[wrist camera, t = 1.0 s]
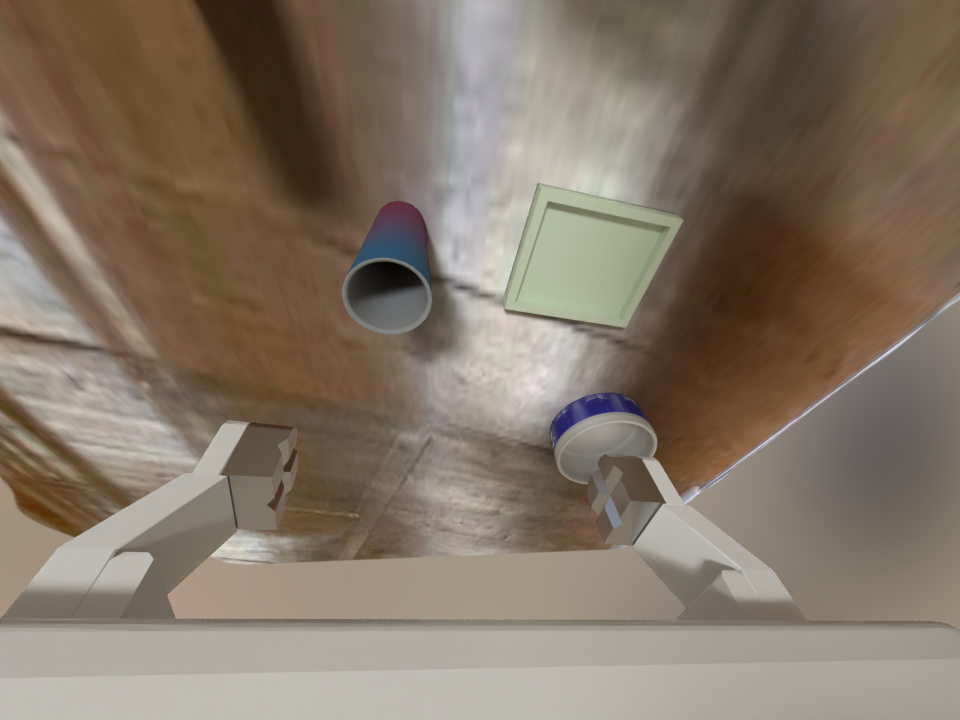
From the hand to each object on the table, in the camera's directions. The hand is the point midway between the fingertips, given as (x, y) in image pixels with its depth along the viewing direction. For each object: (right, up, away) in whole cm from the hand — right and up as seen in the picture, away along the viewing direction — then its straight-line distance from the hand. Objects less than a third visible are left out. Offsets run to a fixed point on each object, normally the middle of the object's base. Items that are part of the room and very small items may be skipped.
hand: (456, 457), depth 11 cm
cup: (-8, +17, +32) cm, 37 cm away
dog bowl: (+19, -8, +56) cm, 59 cm away
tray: (+13, +14, +36) cm, 41 cm away
